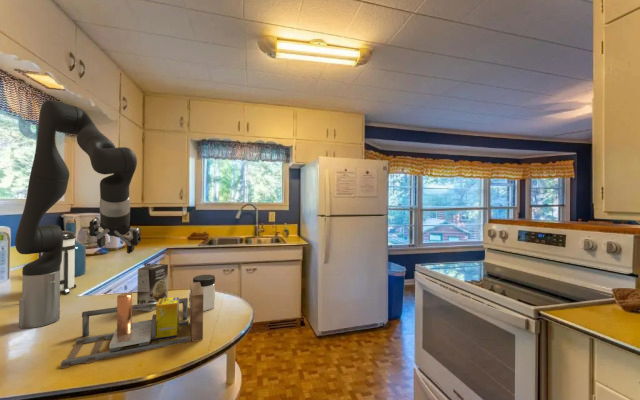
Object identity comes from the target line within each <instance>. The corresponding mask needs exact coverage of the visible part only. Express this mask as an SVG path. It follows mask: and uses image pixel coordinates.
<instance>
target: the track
mask: <svg viewBox="0 0 640 400" xmlns="http://www.w3.org/2000/svg"><path fill="white" fill-rule="evenodd" d="M189 321H190V319H189V320H188V319H187V320H182V321H179V328H180V327H186V326H187V327H188V326H190V325H189V324H190V322H189ZM114 333H115V332H111V333H104V334H98V335H94V336H87V337H81V338H77V339H76V340H75V345H74V347H73V348H72V350H71V351H70V352H69V354H68V355H67V357H66V359H63V360H62V361H61V362H60V369H66V368H67V369H68V368H70V366H74V365H78V364H83V363H84V364H86V365H87V364H92V363H94V362H95V361H99V360H102V359H108V358H114V357H119V356H125V355H129V354H134V353H138V352H144V351H149V350H153V349H154V350H155V349H159V348H165V347H168V346H169V347H170V346H173V345H179V344H183V343H190V342H191V335H187V336H181V337H176V338H170V339H164V340H159V341H155V342H151V343H150V342H149V345H143V346H139V345H135V346H129V347H124V348H123V347H122V348H121V350H117V351H112V352H110V350H109V351H107V350H106V351H102V352H100V350H101V347H102V346H103V344H104V342H105V341H106V340H112V338H113V335H114ZM95 342H96V343H95ZM90 343H95V345H93V348H92V350H91V351H90V354H86V355H82V356H78V357H77V355H78V353H79V352H80V350H81V349H82V347H83V346H84V344H90Z"/></svg>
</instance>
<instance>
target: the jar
mask: <svg viewBox="0 0 640 400" xmlns="http://www.w3.org/2000/svg"><path fill="white" fill-rule="evenodd" d="M194 282H200V284H201V288H202V291H203V312H206V311H209V310H213V309H214V308H215V299H216V297H215V296H216V295H215V294H216V290H215V285H216V284H215V283H216V276H215V275H214V274H200V275H196V276H193V278H192V283H194Z"/></svg>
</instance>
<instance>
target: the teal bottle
mask: <svg viewBox="0 0 640 400" xmlns="http://www.w3.org/2000/svg"><path fill="white" fill-rule="evenodd" d="M76 228H77V227H76V222H74V219H68V220H67V221H66V223H65V227H64V229H65V231H70V232H73V233H74V235H75V236H76ZM86 254H87V248H86V246H85V244H84V243H82V242H81V241H77V240H76V239H75V277H76V278H77V277H80V276H82V275H84V274H86V271H87V270H86V267H87V266H86V263H87V261H86V260H87V257H86V256H87V255H86Z"/></svg>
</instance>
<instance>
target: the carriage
mask: <svg viewBox="0 0 640 400" xmlns="http://www.w3.org/2000/svg"><path fill="white" fill-rule="evenodd" d="M116 298H117V299H116V307H117V312H116V329H115V331H114V332H113V333H114V335H113V338H112V339H110V342H109V351H110V352H112V351H117V350H121V349H122V348H123V347H126V346H133V345H137V344H138V346H143V345H149V343H150V342H151V341H153V340H156V314H155V313H154V314H152V318H151V319H147V320H141V321H136V322H133V318H132V317H133V310H132V305H133V294H132V293H130V292H129V293H127V292H126V293H122V294H118V295H117V297H116Z"/></svg>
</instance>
